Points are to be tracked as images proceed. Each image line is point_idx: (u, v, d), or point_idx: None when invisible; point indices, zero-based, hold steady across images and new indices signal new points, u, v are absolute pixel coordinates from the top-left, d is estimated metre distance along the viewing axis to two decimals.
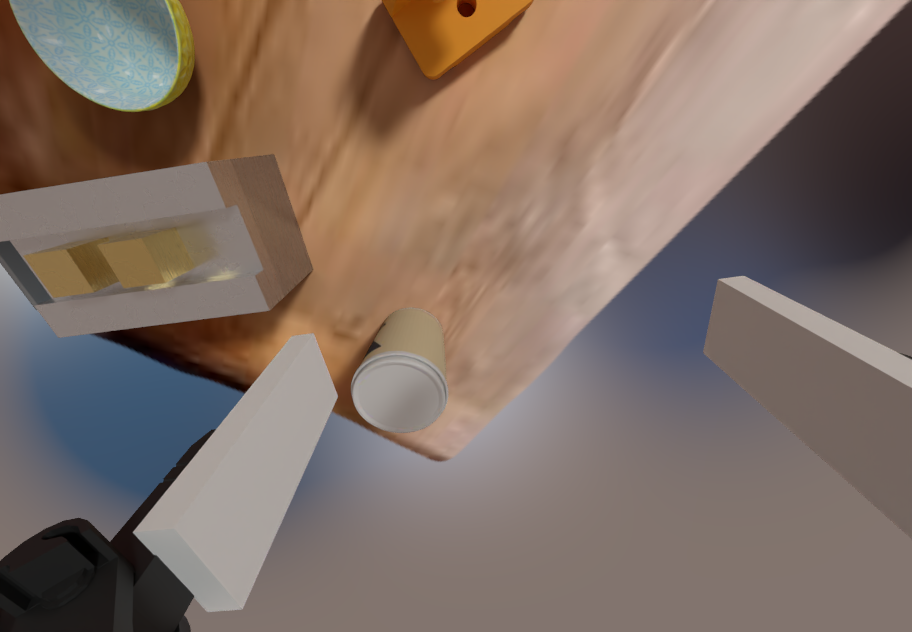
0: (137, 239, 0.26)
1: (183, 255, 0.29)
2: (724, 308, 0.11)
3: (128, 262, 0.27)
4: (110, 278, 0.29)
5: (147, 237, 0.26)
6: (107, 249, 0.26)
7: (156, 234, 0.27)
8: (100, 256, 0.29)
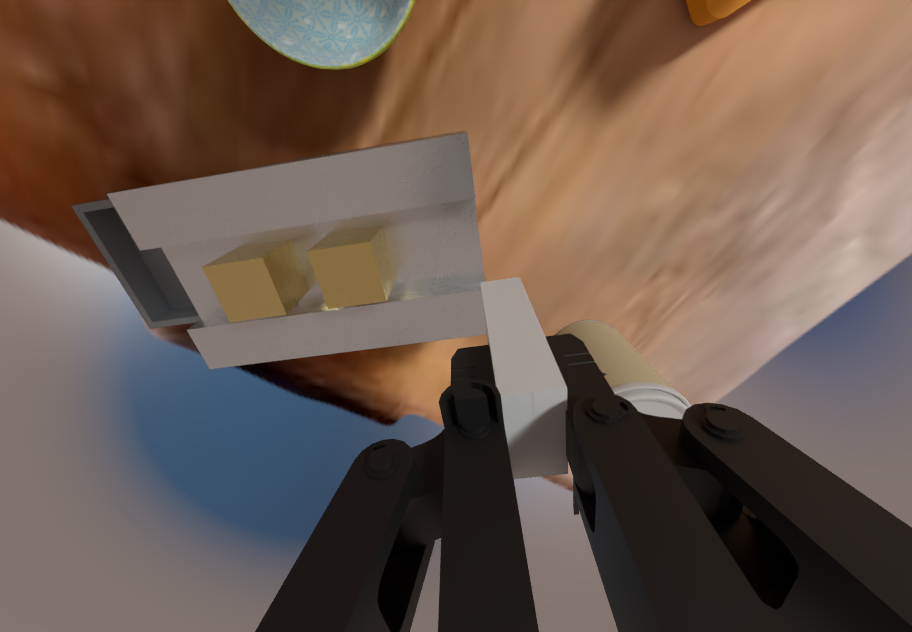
0: (363, 243, 0.19)
1: (389, 263, 0.22)
2: None
3: (343, 274, 0.19)
4: (295, 294, 0.22)
5: (373, 240, 0.19)
6: (318, 256, 0.19)
7: (376, 235, 0.20)
8: (287, 265, 0.21)
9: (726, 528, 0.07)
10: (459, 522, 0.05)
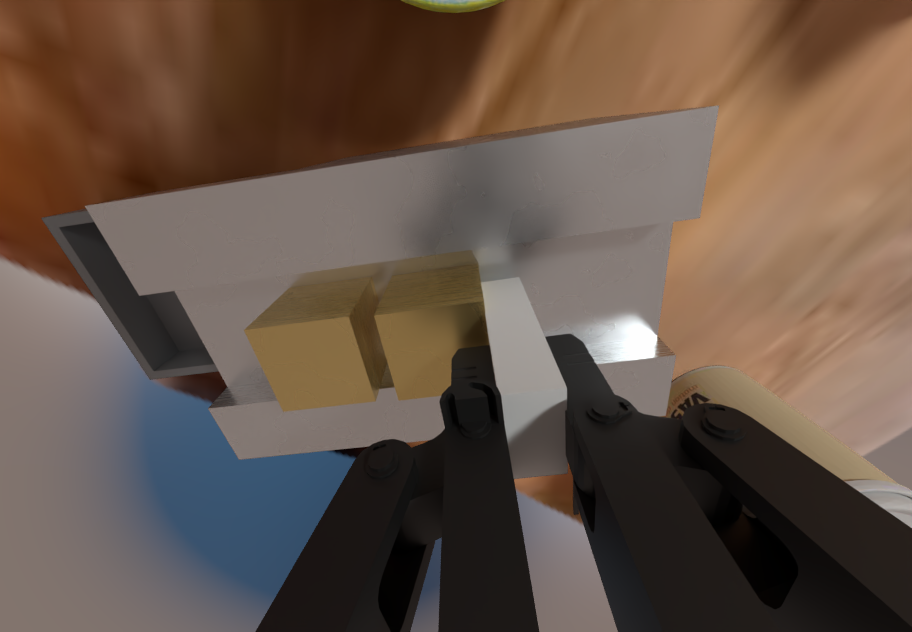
0: (470, 302, 0.11)
1: None
2: None
3: (430, 351, 0.12)
4: (381, 362, 0.14)
5: None
6: (392, 324, 0.11)
7: (481, 285, 0.12)
8: (371, 319, 0.14)
9: (726, 528, 0.07)
10: (459, 522, 0.05)
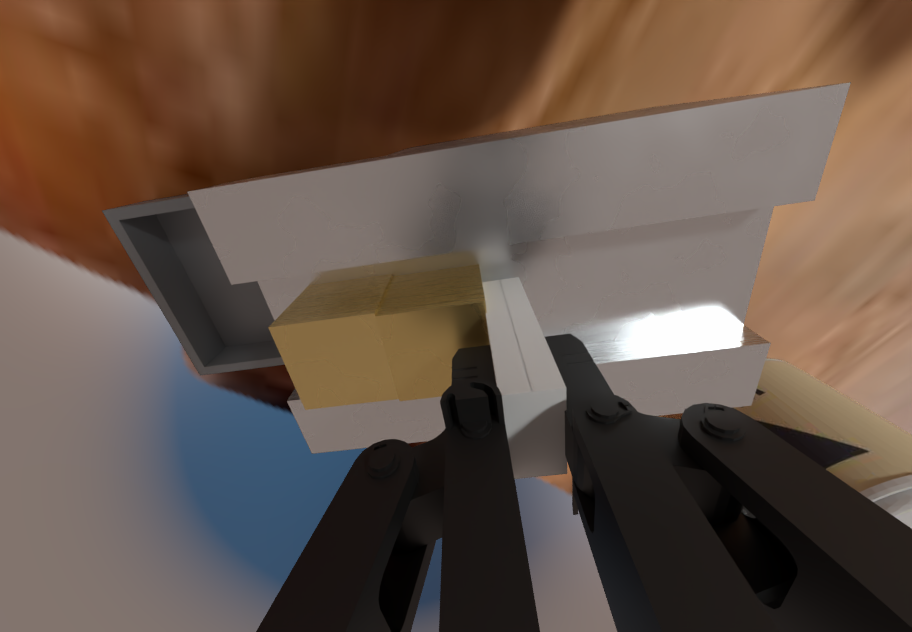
0: (472, 303, 0.11)
1: None
2: None
3: (432, 352, 0.12)
4: None
5: (484, 296, 0.11)
6: (394, 325, 0.11)
7: (482, 286, 0.12)
8: None
9: (725, 528, 0.07)
10: (460, 521, 0.05)
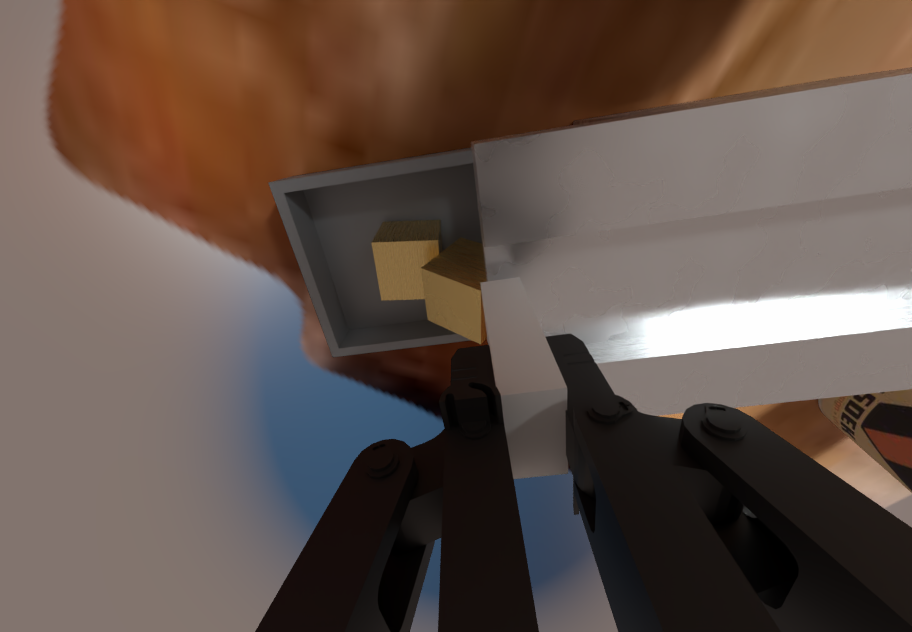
0: (474, 287, 0.16)
1: None
2: None
3: (447, 303, 0.18)
4: (411, 292, 0.20)
5: None
6: (429, 277, 0.18)
7: None
8: (413, 262, 0.19)
9: (726, 528, 0.07)
10: (459, 522, 0.05)
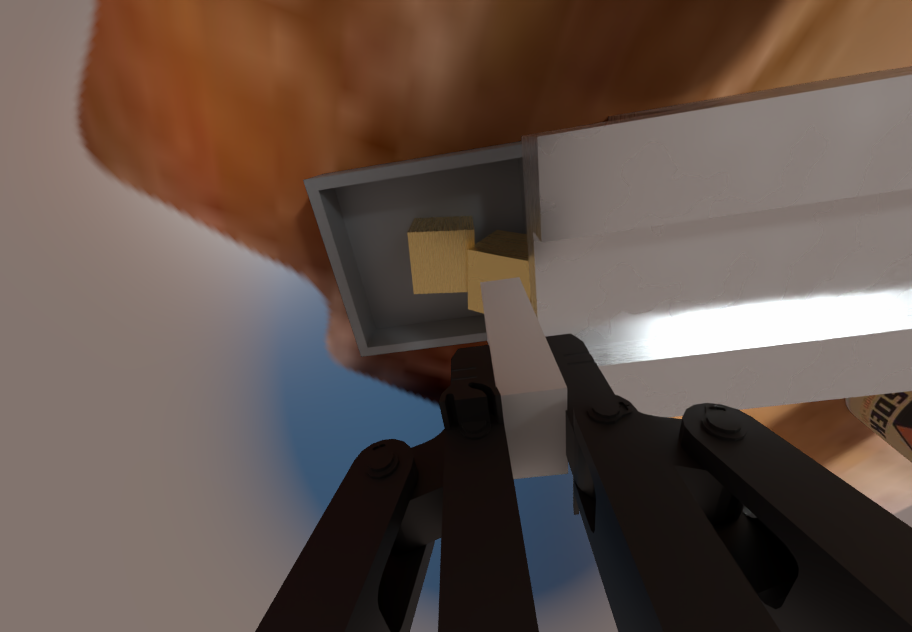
0: (525, 260, 0.17)
1: None
2: None
3: None
4: (444, 285, 0.20)
5: None
6: (476, 258, 0.18)
7: None
8: (447, 253, 0.19)
9: (726, 528, 0.07)
10: (459, 522, 0.05)
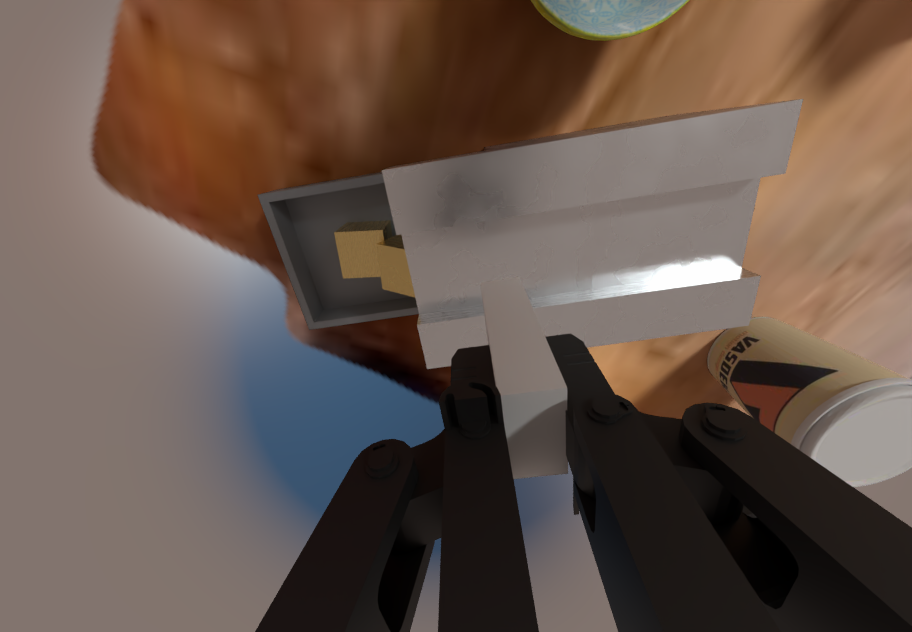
0: None
1: None
2: None
3: (395, 268, 0.25)
4: (365, 271, 0.27)
5: None
6: (382, 250, 0.25)
7: None
8: (365, 247, 0.26)
9: (726, 528, 0.07)
10: (459, 522, 0.05)
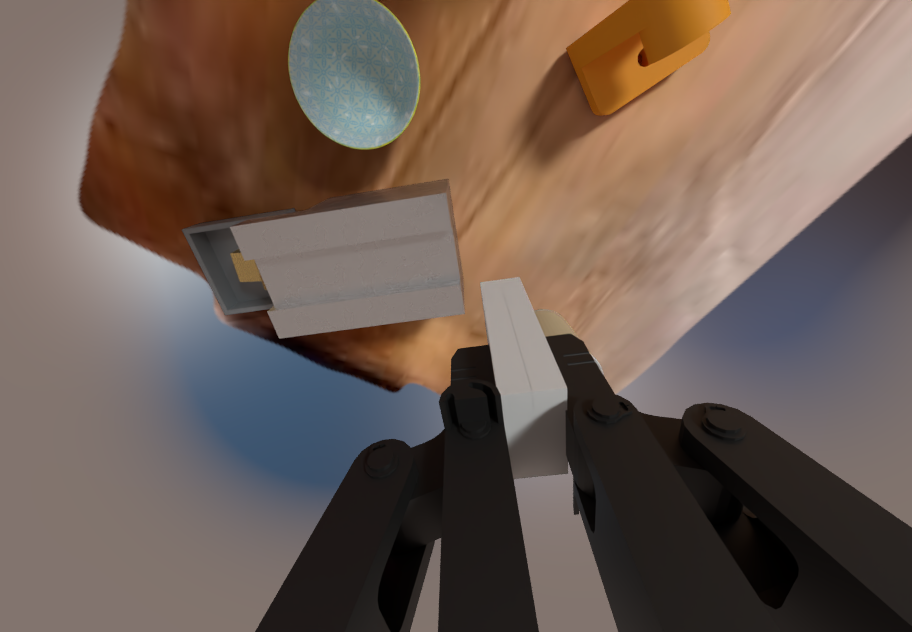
0: None
1: None
2: None
3: None
4: (253, 277, 0.41)
5: None
6: None
7: None
8: (251, 262, 0.41)
9: (726, 528, 0.07)
10: (459, 522, 0.05)
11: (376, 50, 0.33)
